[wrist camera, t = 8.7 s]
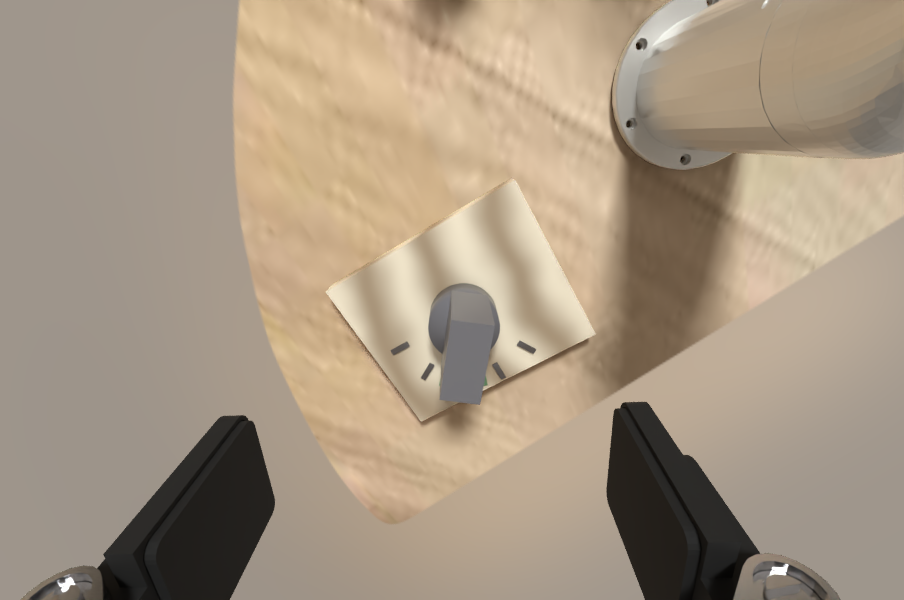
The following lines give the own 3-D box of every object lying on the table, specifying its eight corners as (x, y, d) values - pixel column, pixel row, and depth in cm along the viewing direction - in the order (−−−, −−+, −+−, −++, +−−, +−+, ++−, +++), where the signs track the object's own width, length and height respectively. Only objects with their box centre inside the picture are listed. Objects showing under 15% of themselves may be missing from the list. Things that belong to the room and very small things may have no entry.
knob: (434, 276, 38) (429, 317, 29) (502, 285, 38) (516, 328, 30) (420, 387, 42) (412, 450, 33) (481, 394, 42) (489, 459, 34)
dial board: (512, 177, 37) (515, 180, 35) (589, 325, 42) (596, 335, 40) (331, 284, 41) (325, 292, 38) (422, 410, 45) (420, 423, 43)
